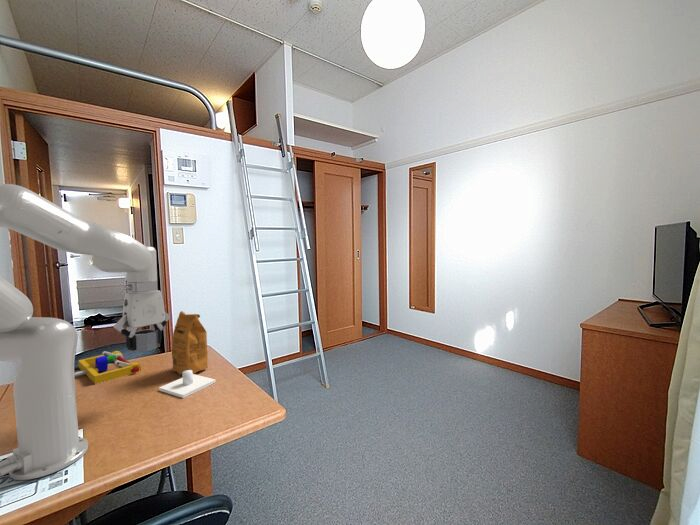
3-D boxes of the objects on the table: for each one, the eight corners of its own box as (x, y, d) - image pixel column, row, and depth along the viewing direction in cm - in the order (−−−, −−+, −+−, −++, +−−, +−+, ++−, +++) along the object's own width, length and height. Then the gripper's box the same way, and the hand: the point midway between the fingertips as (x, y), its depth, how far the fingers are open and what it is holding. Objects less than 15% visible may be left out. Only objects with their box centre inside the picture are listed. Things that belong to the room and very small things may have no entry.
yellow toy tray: (117, 342, 136) (141, 357, 117) (118, 356, 136) (142, 373, 117) (60, 354, 121) (77, 373, 102) (61, 369, 122) (78, 392, 103)
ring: (140, 353, 90) (139, 335, 90) (126, 350, 93) (126, 333, 93) (162, 346, 96) (162, 330, 96) (149, 344, 99) (148, 328, 99)
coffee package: (194, 362, 126) (191, 308, 124) (211, 369, 119) (209, 311, 117) (168, 371, 118) (165, 313, 116) (185, 378, 111) (182, 317, 109)
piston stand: (183, 398, 96) (182, 382, 96) (159, 390, 102) (158, 375, 101) (215, 382, 107) (215, 368, 107) (192, 376, 112) (191, 362, 112)
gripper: (117, 291, 84) (120, 357, 85) (178, 284, 100) (179, 340, 101) (102, 290, 88) (105, 353, 89) (163, 284, 103) (165, 337, 104)
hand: (145, 345), depth 95 cm, fingers closed on ring, 6 cm apart
